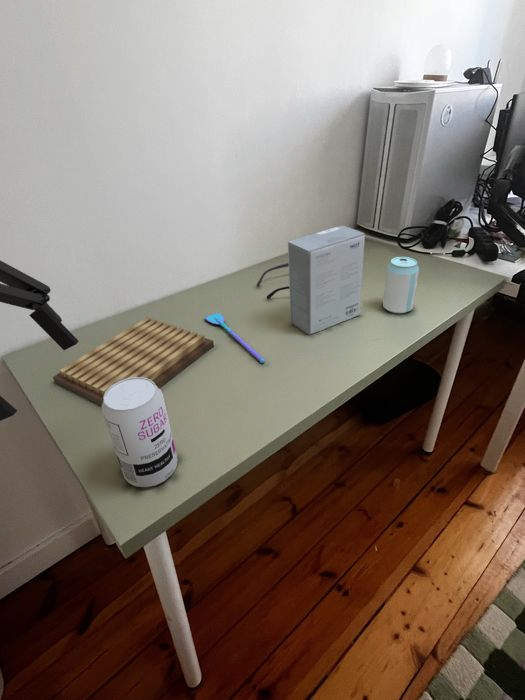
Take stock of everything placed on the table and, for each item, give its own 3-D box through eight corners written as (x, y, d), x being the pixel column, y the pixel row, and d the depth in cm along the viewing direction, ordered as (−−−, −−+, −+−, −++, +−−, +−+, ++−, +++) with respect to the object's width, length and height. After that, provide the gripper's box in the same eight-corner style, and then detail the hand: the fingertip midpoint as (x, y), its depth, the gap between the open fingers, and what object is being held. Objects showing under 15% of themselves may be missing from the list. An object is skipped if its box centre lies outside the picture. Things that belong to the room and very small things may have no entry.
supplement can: (136, 447, 71) (114, 373, 62) (184, 450, 69) (169, 375, 61) (115, 487, 64) (87, 411, 56) (168, 492, 63) (148, 414, 54)
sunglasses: (326, 292, 114) (327, 274, 111) (270, 303, 110) (270, 286, 107) (305, 273, 125) (306, 256, 122) (254, 283, 121) (253, 266, 118)
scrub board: (123, 416, 77) (119, 403, 75) (54, 382, 86) (50, 370, 85) (214, 346, 95) (212, 334, 93) (148, 324, 104) (146, 313, 103)
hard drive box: (339, 303, 108) (343, 224, 97) (360, 315, 103) (368, 233, 92) (288, 322, 102) (287, 240, 90) (308, 336, 96) (309, 250, 85)
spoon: (202, 318, 105) (201, 314, 104) (216, 313, 107) (216, 309, 106) (260, 365, 88) (260, 360, 87) (276, 358, 89) (276, 353, 89)
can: (376, 305, 106) (381, 259, 100) (399, 298, 109) (405, 253, 102) (395, 317, 101) (401, 269, 94) (419, 310, 103) (427, 263, 97)
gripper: (-38, 212, 58) (75, 331, 67) (-244, 313, 38) (-44, 461, 48) (-7, 184, 54) (108, 314, 64) (-216, 280, 35) (-7, 446, 44)
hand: (43, 377), depth 56 cm, fingers open, 13 cm apart
